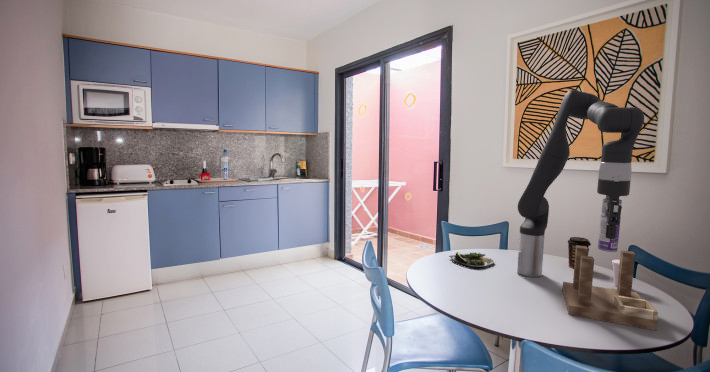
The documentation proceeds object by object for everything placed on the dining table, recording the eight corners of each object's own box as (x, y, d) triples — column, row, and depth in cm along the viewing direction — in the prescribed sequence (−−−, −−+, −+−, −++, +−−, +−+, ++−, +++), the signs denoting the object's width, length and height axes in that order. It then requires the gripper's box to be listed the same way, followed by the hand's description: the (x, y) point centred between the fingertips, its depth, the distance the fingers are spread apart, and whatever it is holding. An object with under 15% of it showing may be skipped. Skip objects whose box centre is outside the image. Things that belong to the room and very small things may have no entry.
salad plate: (470, 253, 175) (470, 244, 175) (503, 263, 161) (503, 253, 160) (444, 260, 164) (444, 251, 164) (476, 272, 150) (477, 261, 149)
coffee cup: (588, 266, 156) (591, 238, 155) (589, 272, 149) (591, 242, 148) (566, 263, 161) (568, 235, 159) (565, 268, 154) (567, 239, 152)
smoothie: (634, 290, 130) (638, 254, 128) (615, 289, 131) (618, 252, 129) (624, 284, 136) (628, 249, 134) (606, 282, 137) (609, 248, 136)
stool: (568, 314, 111) (572, 259, 109) (562, 289, 131) (565, 242, 129) (656, 330, 101) (662, 270, 99) (635, 300, 121) (640, 250, 119)
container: (614, 248, 104) (619, 198, 102) (619, 252, 100) (625, 201, 98) (595, 246, 106) (600, 197, 104) (600, 251, 102) (605, 200, 100)
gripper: (595, 175, 108) (590, 229, 110) (602, 179, 96) (596, 240, 98) (625, 177, 105) (619, 232, 107) (636, 181, 92) (630, 244, 94)
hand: (608, 235), depth 102 cm, fingers closed on container, 4 cm apart
